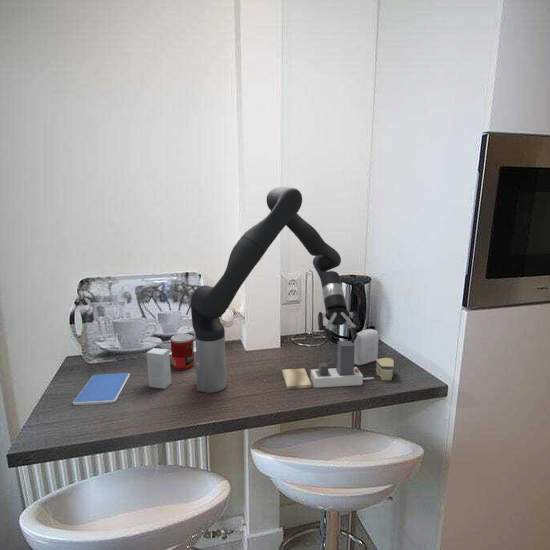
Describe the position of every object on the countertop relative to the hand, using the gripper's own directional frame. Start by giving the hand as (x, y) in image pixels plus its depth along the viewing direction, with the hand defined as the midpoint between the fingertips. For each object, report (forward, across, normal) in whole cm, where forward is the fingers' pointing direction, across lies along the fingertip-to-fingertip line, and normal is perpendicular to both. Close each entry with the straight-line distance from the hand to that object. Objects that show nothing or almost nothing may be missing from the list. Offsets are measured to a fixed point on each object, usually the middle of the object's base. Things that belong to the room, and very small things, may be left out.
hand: (342, 340), depth 134 cm
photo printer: (+3, +12, +16) cm, 20 cm away
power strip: (+12, 0, +6) cm, 13 cm away
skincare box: (+8, -61, +10) cm, 62 cm away
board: (+10, -16, +8) cm, 21 cm away
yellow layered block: (+11, +15, +8) cm, 20 cm away
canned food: (-1, -55, +20) cm, 58 cm away
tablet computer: (+9, -79, +10) cm, 80 cm away
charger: (+10, 0, +4) cm, 10 cm away
